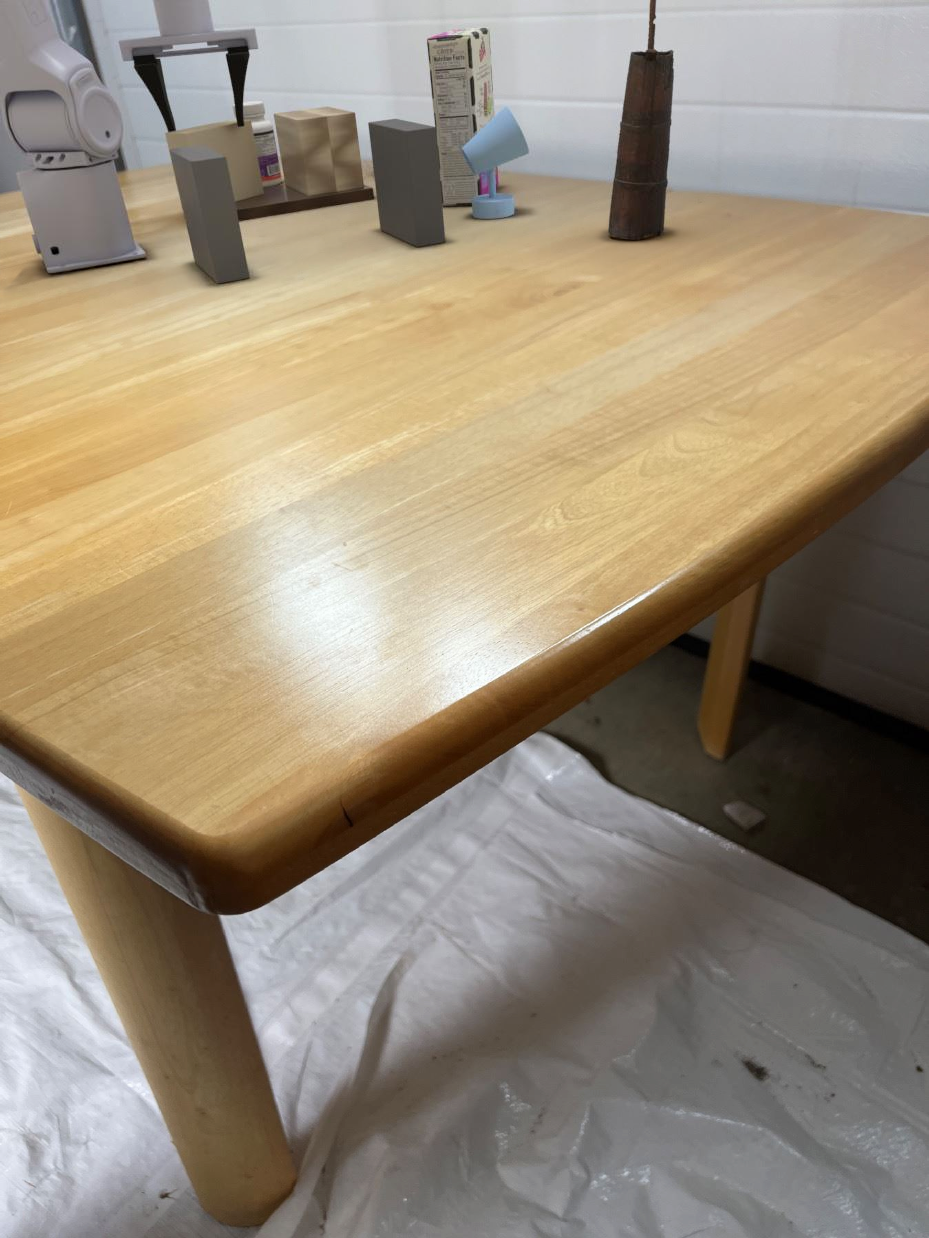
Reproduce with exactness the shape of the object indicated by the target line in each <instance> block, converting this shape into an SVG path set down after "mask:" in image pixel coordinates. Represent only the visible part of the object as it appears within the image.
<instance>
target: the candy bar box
mask: <svg viewBox="0 0 929 1238" xmlns="http://www.w3.org/2000/svg"><path fill="white" fill-rule="evenodd" d="M490 38H491V35H490V27H488V26H480V27H466V28H457V29H456V28H455V29H452V30H448V31H445V32H442V33H438V34H436V35H433V36H431V37H428V38H426V47H427V55H428V66H429V67H428V68H429V78H430V87H431V89H430V90H431V99H432V100H431V101H432V109H433V117H434V118H433V119H434V127H436V130H437V143H438V156H439V168H440V181H441V194H442V206H443V207H460V206H462V207H463V206H464V207H465V206H472V198H474V197H476V196H479V195H484V194H489V185H488V173H487V172H486V171H485V172H482V173H480V174H477V175H474V174H473V172H472V171H471V169H470V167H469V165H468V164H467V162H466V160H465V158H464V155H463V153H462V150H461V148H462V147H463V146H464V145H465V144H467V143H468V142H469V141H470V140H471V139H472V138H473V137H474V136H475V135H476V134H477V133H478V132H479V131H480V130H481V129H482V128H483V127H484V126H485V125H486V124H487V123H488V122H489V121H490V120H492V119H493V118H494V117H495V106H494V104H495V102H494V88H493V71H492V70H493V69H492V55H491V53H492V52H491V41H490V40H491V39H490ZM498 169H499V168H498V166H497V167H494V170H495V178H496V188H497V187H498V186H499V184H500V183H499V170H498Z"/></svg>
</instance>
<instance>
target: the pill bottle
mask: <svg viewBox="0 0 929 1238" xmlns="http://www.w3.org/2000/svg"><path fill="white" fill-rule="evenodd" d="M232 110H233V115H234V118H236V113H235V104H234V103H233V104H232ZM265 115H266V109H265V105H264V101H261V100H254V101H243V116H244V120H251V123H252V129H253V134H254V140H255V145H256V151H257V157H258V162H259V168H260V173H261V179H262V184H263V187H269V186H276V185H280V184H281V183H282V181H283V179H282V172H281V167H280V166H281V165H280V161H279V154H278V149H277V145H276V144H277V142H276V136H275V130H274V126H273V123H272V122H271V121H270V120H268V119H266V118H265Z"/></svg>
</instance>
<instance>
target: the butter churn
mask: <svg viewBox="0 0 929 1238" xmlns="http://www.w3.org/2000/svg"><path fill="white" fill-rule="evenodd" d="M656 8H657V0H649V14H648V16H649V20H648V35H647V37H648V38H647V49H646V50H645V51H642V50H640V51H639V50H637V51H631V52H630V56H629V62H628V68H627V69H628V70H627V75H626V82H625V83H626V84H625V91H624V98H623V99H624V100H623V103H622V113H621V121H620V122H619V134H618V142H617V143H618V144H617V149H616V163H615V168H614V169H615V170H614V175H613V176H614V177H613V181H612V191H611V192H612V193H611V198H610V199H611V201H610V208H609V217H608V230H607V231H608V232H607V233H608V236H609V237H611V238H617V239H620V240H621V239H623V240H641V239H644V238H646V237H654V236H660V235H663V234H664V232H665V217H666V216H665V214H666V198H667V196H666V195H667V188H668V184H669V180H668V167H669V159H670V143H671V140H670V139H671V126H672V110H673V95H674V94H673V93H674V80H675V75H674V74H675V69H674V63H675V62H674V60H675V59H674V50H673V49H670V50H666V51H663V50H662V51H661V50H660V51H658V50H657V49H655V38H656V37H655V36H656V23H655V22H654V21H655V20H656V19H657V15H656V13H657V12H656V10H657V9H656Z"/></svg>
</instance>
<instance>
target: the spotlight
mask: <svg viewBox="0 0 929 1238" xmlns="http://www.w3.org/2000/svg"><path fill="white" fill-rule="evenodd" d="M461 150H462V153H463V155H464V158H465V160H466V162H467V164H468V165H469V167H470V169H471V171H472V172H473V174H474V175H477V174H480V173H482V172H485V171H486V172H487V173H488V185H489V194H484V195H479V196H476V197H474V198H472V205H471V210H472V211H471V212H472V218H475V219H480V220H482V219H483V220H495V219H502V218H507V217H511V216H513V215H515V196H514V195H513V194H511V193H506V192H504V193H503V192H502V193H501V192H497V187H496V178H495V170H494V167H497V168H498V167H499V166H501V165H504V164H507V163H509V162H511V161H514V160H516V159H519V158H521V157H523V156H526V155H529V153H530V149H529V146H528V143H527V140H526V137H525V135H524V132H523V130H522V129H521V127H520V125H519V123H518V121H517V119H516V117H515V116H514V114H513V113H512V111H511V110H510V108H508V107H507V106H505V105H504V107H503V108H502V109H501V110H500V111H499V112H498V113H497V114H495V115H494V118H493V119H492V120H490V121H489V122H488V123H487V124H486V125H485V126H484V127H483V128H482V129H481V130H480V131H479V132H478V133H477V134H476V135H475V136H474V137H473V138H472V139H471V140H470V141H469V142H468V143H467V144H465V145H464V146H463V147H462V148H461Z"/></svg>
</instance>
